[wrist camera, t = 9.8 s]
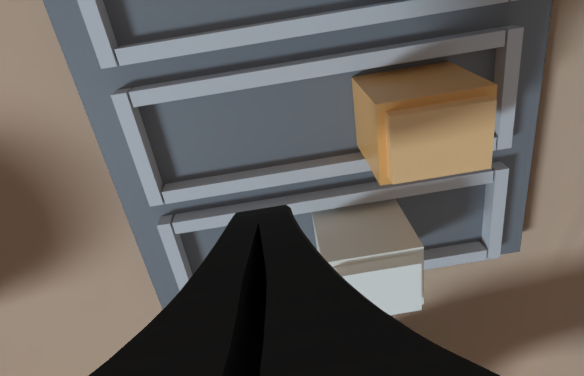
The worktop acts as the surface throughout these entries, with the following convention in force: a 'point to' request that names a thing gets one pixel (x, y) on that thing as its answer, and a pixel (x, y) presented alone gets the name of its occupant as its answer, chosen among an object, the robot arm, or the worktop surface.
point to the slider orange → (424, 122)
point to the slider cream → (374, 253)
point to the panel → (292, 114)
